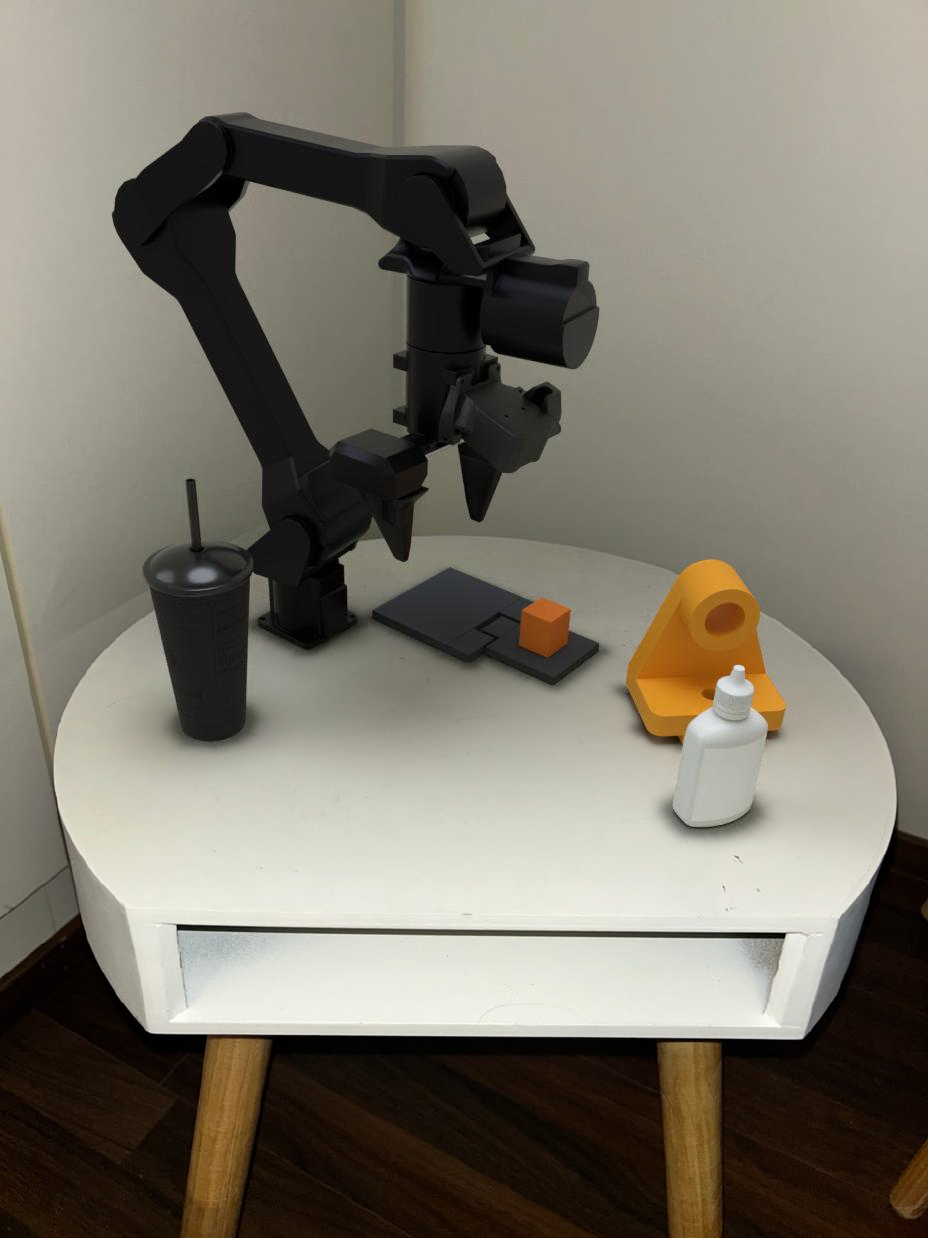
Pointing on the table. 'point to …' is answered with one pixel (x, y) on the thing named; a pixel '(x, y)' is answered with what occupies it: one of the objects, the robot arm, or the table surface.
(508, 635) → the black pad
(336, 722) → the table surface
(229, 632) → the drinking cup
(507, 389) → the robot arm
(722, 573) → the bracket
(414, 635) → the charcoal pad
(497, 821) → the table surface
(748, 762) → the eye dropper bottle
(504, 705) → the table surface
